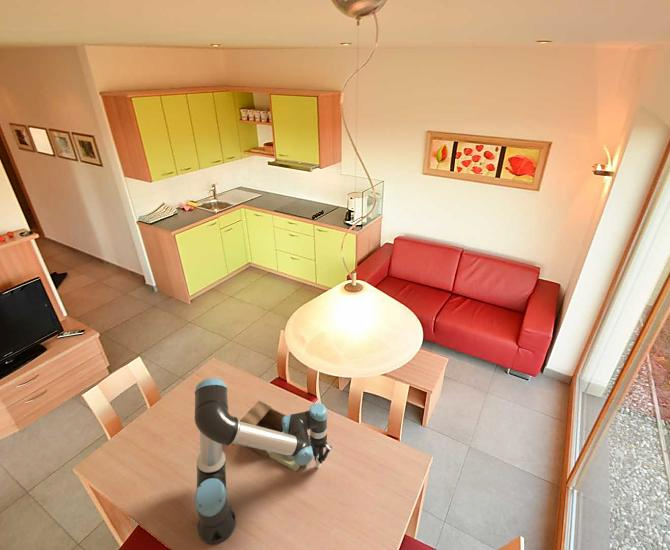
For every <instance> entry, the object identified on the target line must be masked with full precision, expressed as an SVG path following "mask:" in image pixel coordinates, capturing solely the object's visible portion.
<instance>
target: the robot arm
mask: <svg viewBox="0 0 670 550" xmlns="http://www.w3.org/2000/svg"><path fill="white" fill-rule="evenodd" d="M194 395H195V396H194V422H195V423H194V424H195V426H196V429H198V431H199V444H200V445H199V447H200V448H199V450H200V453H199V454H198V456H197V458H196V489H195V493H194V505H195V509H196V510H197V514H198V517H199V520H198V523H197V530H198V531H197V532H198V535H199V538H200V539H201V541H202V542H204V543H205V544H208V545H211V546H212V545H219V544H221V543H223V542H225V541H226V540H228V539H229V538H230V536H231V535H232V533H233V532H234V531H235V528H236V524H237V517H236V513H235V511H234V509H233V508H232V507H231V506H230V505H229V501H228V493H227V492H228V491H227V489H228V488H227V476H226V465H227V464H226V461H227V460H226V453H225V452H224V451H223V445H224V446H231V445H232V444H235V445H240V446H243V447H245V446H248V447H252V448H257V449H261V450H266V451H270V452H275V453H280V454H284V455H289V456H292V457H294V460H295V462H296V463H297V464H298V465H301V466H302V465H306V464H308V463H309V464H310V463H311V461H312V460H313V459H314V462H315V468H317V469H320V467H321V466H322V463H323V462H325V460H326V459H327V457H328V455H329V453H330V451H331V450H332V449H333V446H332V445H328V441H327V440H328V438H327V437H328V412H327V411H328V409H327V407H326V406H325V405H324V404H323V403H321V402H316V403H313V404H312V405H311V406H310V407H309V409H308V410H306V411H302V412H297V413H292V414H288V415H286V416H284V417H283V418H282V427H283V432H284V433H282V432H278V431H274V430H271V429H267V428H263V427H259V426H255V425H252V424H248V423H244V422H240V419H239V418H238V417H235V416H233V415H231V413H230V412H229V402H228V387H227V383H226V382H225V381H224V380H221V379H220V378H216V377H215V378H213V377H211V378H206V379H203V380H202V381H201V382H199V383H198V384H197V385H196V387H195V390H194ZM308 431H309V434H308ZM324 449H325V451H324ZM313 455H314V456H313ZM309 464H308V465H309Z"/></svg>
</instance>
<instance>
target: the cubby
mask: <svg viewBox="0 0 670 550" xmlns="http://www.w3.org/2000/svg"><path fill="white" fill-rule="evenodd" d="M284 416H287V415H286V414H284V413H283V412H280V411H278V410H276V409H274V408H272V406H270V405H269V404H267V403H264V402H262V401H261V400H258V401H257V402H256V403H255V404H254V405H253V406H252V407H251V408H250V409H249V410H248V412H247V413H246V414H245V415H243V417H242V418H241V419H239V421H240V422H244V423H248V424H252V425H255V426H259V427H263V428H267V429H271V430H274V431H278V432H283V427H282V418H283V417H284ZM244 447H245V448H246V449H248V450H250V451H251V452H254V453H256V454H257V455H259V456H260V457H263V458H264V459H269V458H270V457H269V456H268V452H267V451H266V450H261V449H257V448H252V447H248V446H244Z"/></svg>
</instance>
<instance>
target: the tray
mask: <svg viewBox="0 0 670 550" xmlns="http://www.w3.org/2000/svg"><path fill="white" fill-rule="evenodd" d="M282 433H284V432H282ZM267 452H268V456H269V457H268V458H271V459H273V460H275V461H276V462H278V463H280V464H282V465H284V466H286V467H287V468H289V469H291V470H293V471H294V472H297V471H298V470H299V469H300V467H301V466H302V467H304V468H307V467H308V465H309V464H310V462H309V463H308V464H306V465H298V464H297V463H296V462H295V460H288V459H287V458H286V457H285V455H284V454H280V453H275V452H270V451H267ZM313 457H314V455H313Z"/></svg>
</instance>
